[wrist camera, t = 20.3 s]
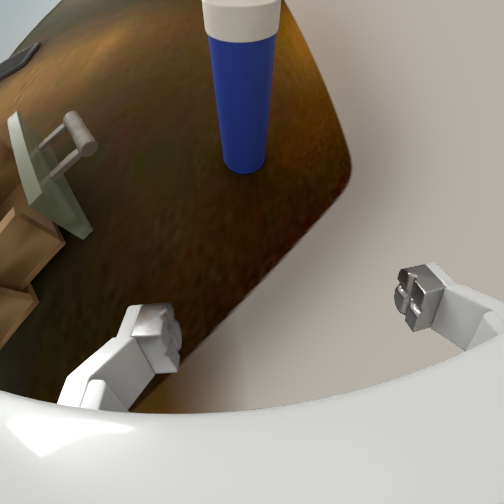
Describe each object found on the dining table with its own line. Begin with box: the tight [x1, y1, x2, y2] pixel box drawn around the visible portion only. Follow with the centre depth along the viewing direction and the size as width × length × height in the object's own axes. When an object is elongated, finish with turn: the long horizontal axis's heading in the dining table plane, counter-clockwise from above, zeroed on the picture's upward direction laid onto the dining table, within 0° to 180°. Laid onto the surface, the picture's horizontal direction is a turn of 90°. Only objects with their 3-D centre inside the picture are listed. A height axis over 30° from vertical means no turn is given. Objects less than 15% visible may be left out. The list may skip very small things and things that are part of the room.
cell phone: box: [0, 42, 41, 79], centre depth 28 cm, size 7×14×1 cm, turn 91°
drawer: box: [0, 111, 98, 292], centre depth 16 cm, size 19×11×7 cm, turn 131°
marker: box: [202, 0, 281, 174], centre depth 15 cm, size 3×3×14 cm
